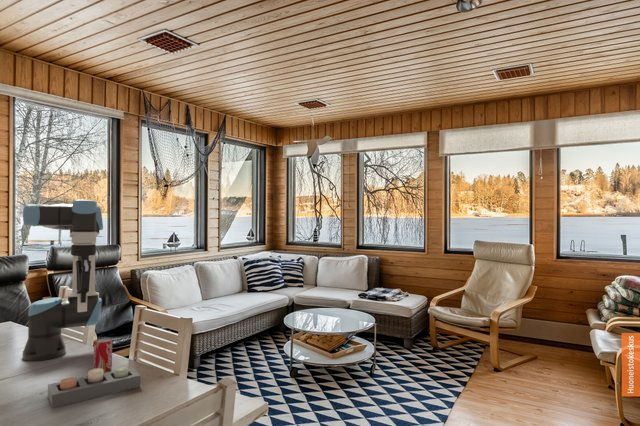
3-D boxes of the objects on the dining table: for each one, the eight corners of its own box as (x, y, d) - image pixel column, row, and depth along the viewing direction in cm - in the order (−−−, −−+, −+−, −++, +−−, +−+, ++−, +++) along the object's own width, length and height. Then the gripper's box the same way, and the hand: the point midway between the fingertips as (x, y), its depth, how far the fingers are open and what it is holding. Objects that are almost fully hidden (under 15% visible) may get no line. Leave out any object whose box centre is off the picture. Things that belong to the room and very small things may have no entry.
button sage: (112, 377, 144) (112, 368, 144) (126, 374, 147) (126, 366, 147) (115, 381, 141) (115, 372, 141) (129, 378, 144) (130, 369, 144)
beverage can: (103, 375, 153) (104, 343, 153) (89, 373, 154) (90, 341, 154) (115, 369, 159) (116, 338, 159) (101, 367, 160) (102, 337, 160)
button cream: (86, 379, 139) (86, 370, 139) (101, 376, 142) (101, 367, 142) (89, 383, 136) (89, 374, 136) (104, 380, 139) (105, 371, 139)
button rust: (58, 389, 134) (59, 379, 134) (75, 385, 137) (75, 376, 137) (61, 393, 131) (61, 384, 131) (77, 390, 134) (77, 381, 134)
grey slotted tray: (47, 396, 135) (48, 384, 135) (131, 377, 151) (132, 366, 151) (52, 408, 127) (52, 395, 127) (140, 386, 144) (140, 375, 144)
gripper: (68, 242, 146) (66, 309, 146) (74, 245, 136) (73, 316, 136) (91, 242, 151) (90, 306, 151) (99, 244, 141) (98, 313, 141)
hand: (82, 311), depth 143 cm, fingers closed
